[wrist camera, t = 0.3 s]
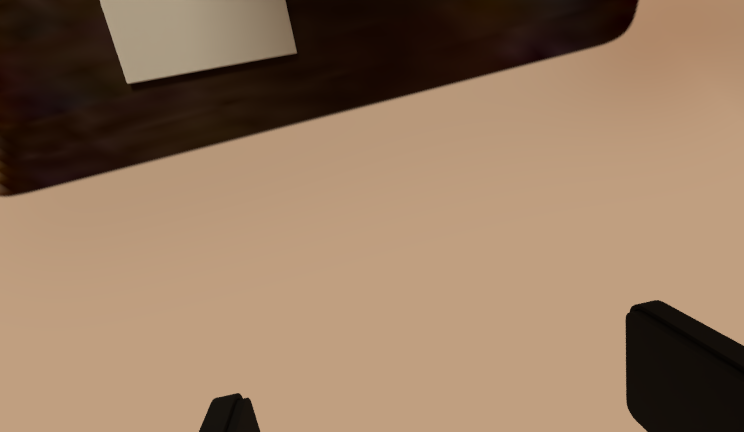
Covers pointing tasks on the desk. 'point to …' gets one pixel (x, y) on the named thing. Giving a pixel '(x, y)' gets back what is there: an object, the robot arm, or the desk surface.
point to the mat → (195, 34)
